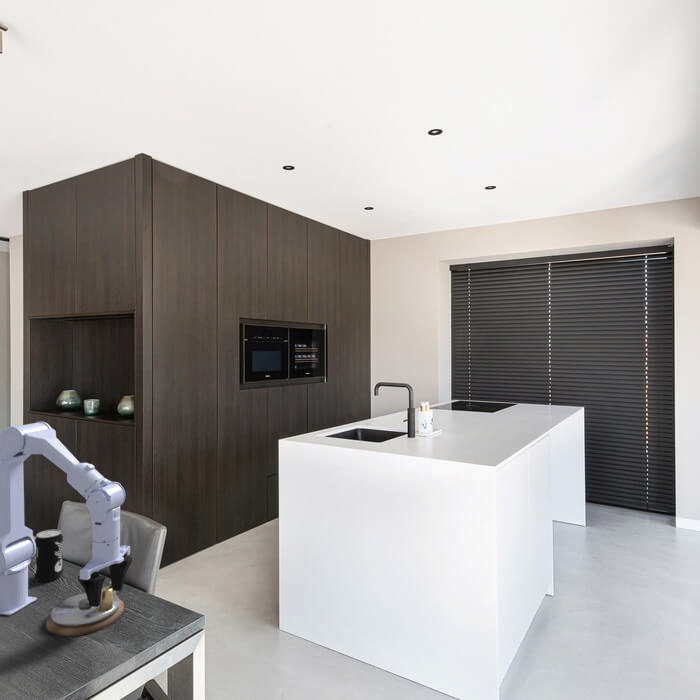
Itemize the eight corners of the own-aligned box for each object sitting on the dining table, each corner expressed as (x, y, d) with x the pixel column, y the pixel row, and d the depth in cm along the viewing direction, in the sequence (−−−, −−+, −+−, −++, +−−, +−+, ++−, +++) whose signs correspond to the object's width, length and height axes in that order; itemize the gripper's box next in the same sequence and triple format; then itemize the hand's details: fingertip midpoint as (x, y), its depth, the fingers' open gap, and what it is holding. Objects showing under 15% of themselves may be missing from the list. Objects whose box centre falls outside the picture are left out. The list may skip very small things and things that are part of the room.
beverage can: (49, 584, 136) (50, 538, 136) (28, 581, 137) (28, 536, 137) (68, 573, 142) (68, 529, 142) (47, 571, 143) (47, 528, 143)
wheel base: (28, 630, 114) (28, 612, 114) (85, 593, 131) (85, 577, 131) (91, 640, 110) (92, 621, 110) (142, 600, 127) (142, 584, 127)
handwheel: (36, 623, 114) (36, 597, 114) (81, 593, 128) (82, 570, 128) (91, 631, 111) (91, 604, 111) (132, 600, 125) (132, 576, 125)
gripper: (99, 552, 111) (99, 615, 111) (141, 528, 125) (141, 585, 125) (71, 549, 112) (71, 611, 112) (115, 526, 126) (115, 582, 126)
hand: (106, 597), depth 119 cm, fingers open, 7 cm apart
